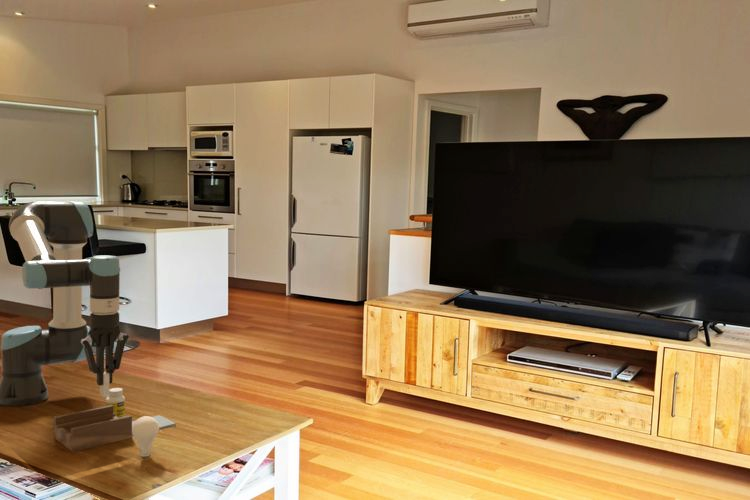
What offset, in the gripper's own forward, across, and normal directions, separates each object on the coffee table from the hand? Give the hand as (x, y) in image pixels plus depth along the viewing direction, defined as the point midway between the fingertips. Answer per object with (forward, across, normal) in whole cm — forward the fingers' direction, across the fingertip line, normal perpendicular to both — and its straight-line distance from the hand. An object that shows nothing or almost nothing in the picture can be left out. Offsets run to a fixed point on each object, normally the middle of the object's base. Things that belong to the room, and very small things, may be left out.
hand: (104, 395), depth 189 cm
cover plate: (+13, +12, -1) cm, 17 cm away
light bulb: (+12, +2, -21) cm, 24 cm away
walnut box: (+12, -4, -1) cm, 13 cm away
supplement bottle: (+13, +8, +11) cm, 18 cm away
